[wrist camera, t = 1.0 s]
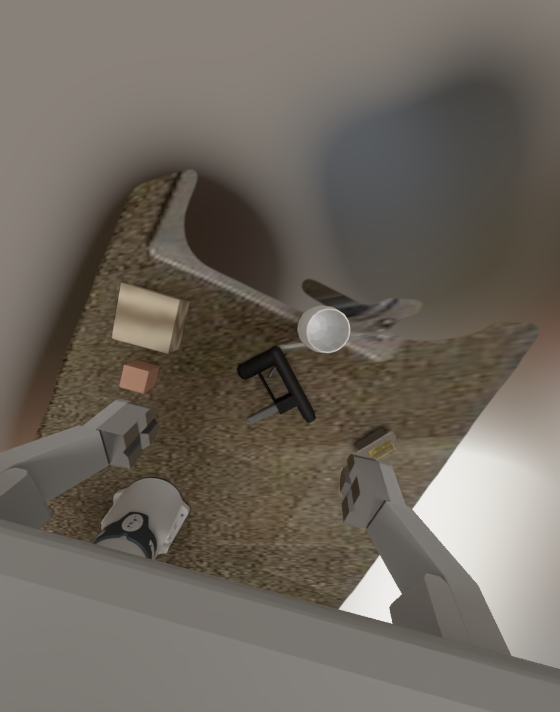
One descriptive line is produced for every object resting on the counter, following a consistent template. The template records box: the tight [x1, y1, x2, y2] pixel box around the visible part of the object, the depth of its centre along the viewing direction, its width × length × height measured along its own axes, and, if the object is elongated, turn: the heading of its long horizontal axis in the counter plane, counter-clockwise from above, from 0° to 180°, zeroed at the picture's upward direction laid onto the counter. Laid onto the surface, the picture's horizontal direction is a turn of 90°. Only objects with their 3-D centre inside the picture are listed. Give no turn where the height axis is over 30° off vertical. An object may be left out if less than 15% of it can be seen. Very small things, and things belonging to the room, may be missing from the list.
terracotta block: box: [119, 360, 160, 394], centre depth 49 cm, size 5×5×5 cm
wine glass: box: [297, 306, 350, 353], centre depth 41 cm, size 7×7×21 cm
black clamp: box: [237, 347, 317, 425], centre depth 53 cm, size 3×20×16 cm
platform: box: [355, 428, 396, 460], centre depth 55 cm, size 12×18×7 cm, turn 123°
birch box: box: [112, 283, 190, 354], centre depth 47 cm, size 11×11×6 cm
